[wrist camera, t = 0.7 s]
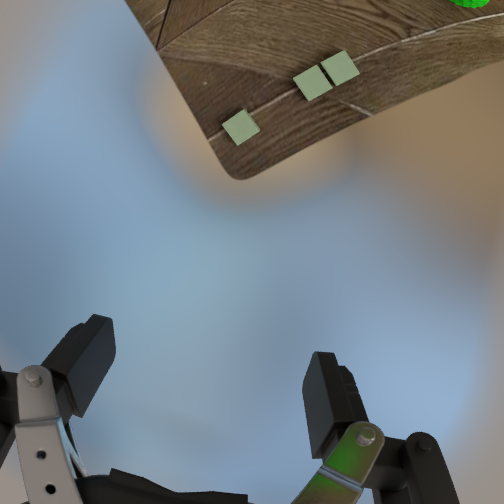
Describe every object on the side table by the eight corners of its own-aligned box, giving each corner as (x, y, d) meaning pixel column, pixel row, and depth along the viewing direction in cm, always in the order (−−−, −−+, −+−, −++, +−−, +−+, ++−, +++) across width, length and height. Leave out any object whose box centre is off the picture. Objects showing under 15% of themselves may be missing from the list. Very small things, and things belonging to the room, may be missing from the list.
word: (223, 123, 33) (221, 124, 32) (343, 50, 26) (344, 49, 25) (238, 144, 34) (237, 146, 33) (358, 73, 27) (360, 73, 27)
